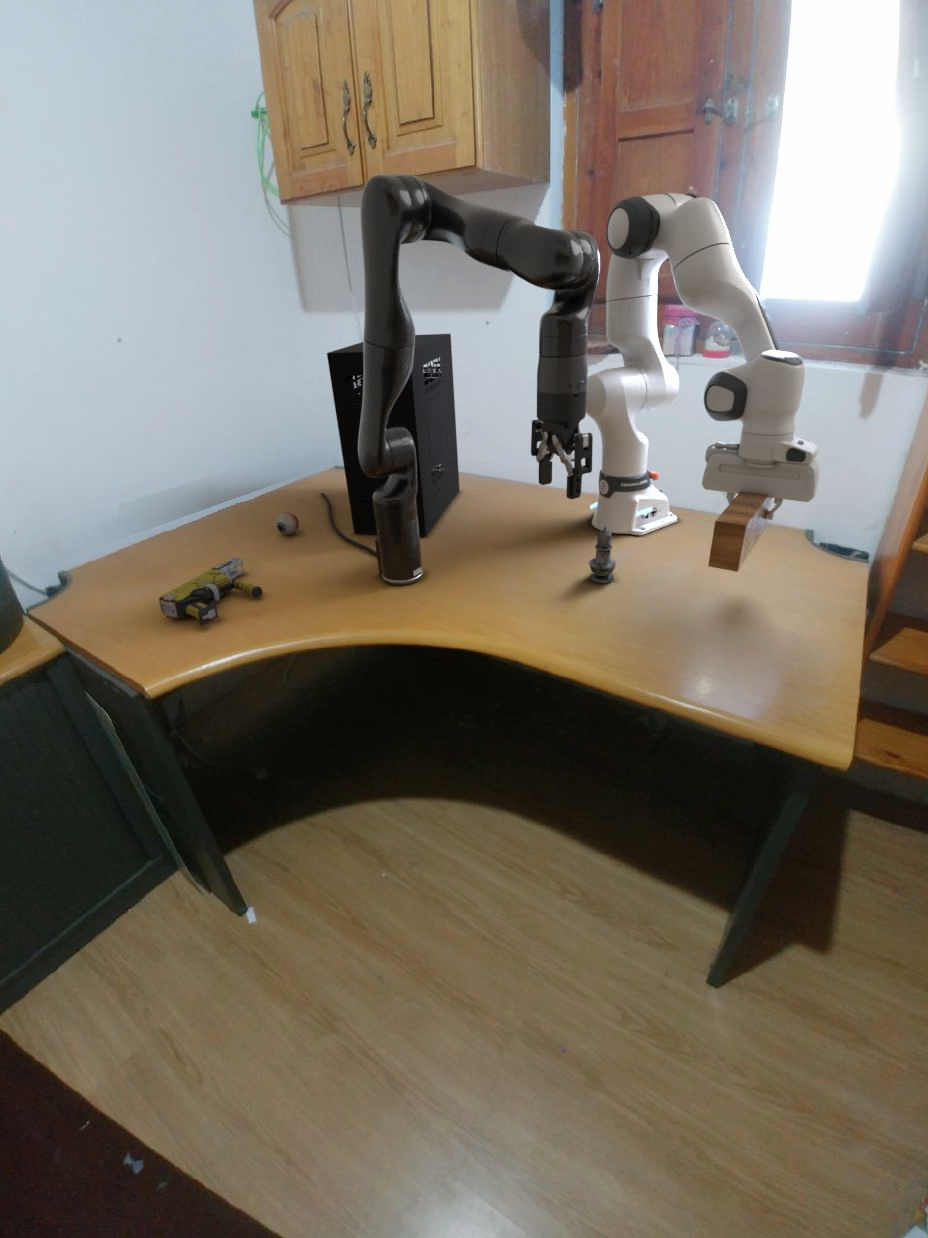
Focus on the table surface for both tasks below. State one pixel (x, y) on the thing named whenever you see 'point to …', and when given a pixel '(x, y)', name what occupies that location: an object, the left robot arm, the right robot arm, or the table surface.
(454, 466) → the cardboard box
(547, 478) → the left robot arm
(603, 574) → the grey chess piece
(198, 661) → the table surface
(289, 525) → the eyeball
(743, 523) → the bar
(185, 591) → the toy gun
